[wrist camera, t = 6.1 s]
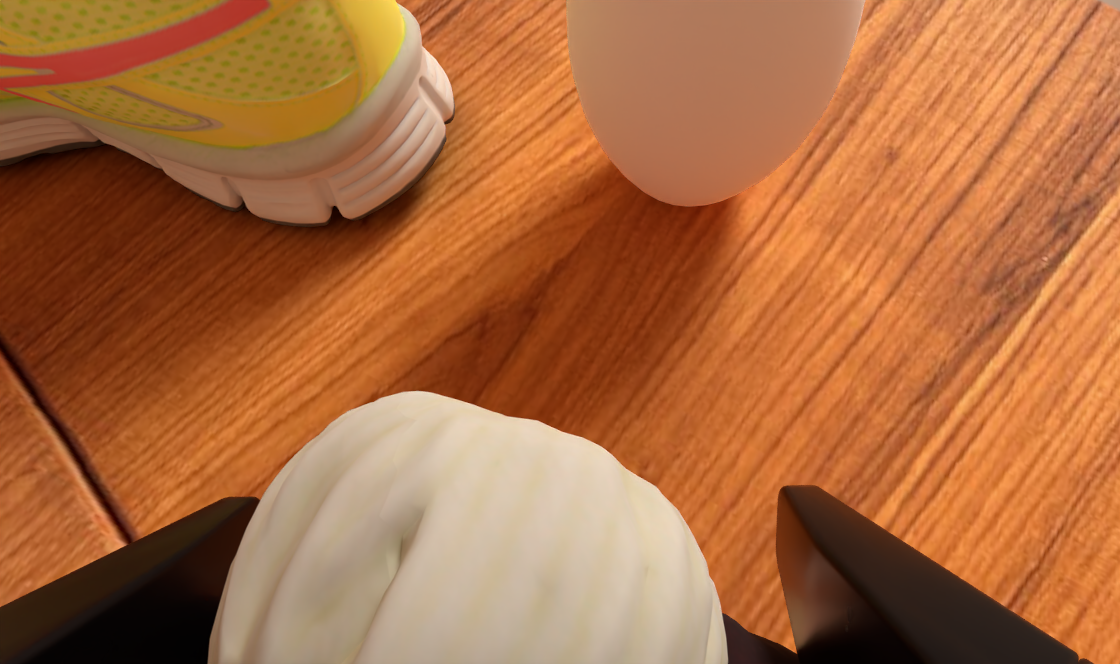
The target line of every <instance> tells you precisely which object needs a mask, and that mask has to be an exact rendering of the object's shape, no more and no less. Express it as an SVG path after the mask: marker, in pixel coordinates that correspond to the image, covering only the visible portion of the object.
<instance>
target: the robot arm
mask: <svg viewBox="0 0 1120 664" xmlns="http://www.w3.org/2000/svg"><path fill="white" fill-rule="evenodd" d="M259 502H260V500H259V499H258V498H256V497H227V498H223V499H221V500H219V501H217V502H215V503H213V504H211V505H208V506H206V507H204V508H202V509H200V510H198V511H196V512H194V513H192V514H190V515H188V516H186V517H184V518H182V519H180V520H178V521H176V522H174V523H172V524H170V525H168V526H165V527H163V528H161V529H159V530H157V531H155V532H153V533H151V534H149V535H147V536H145V537H143V538H141V539H139V540H137V541H135V542H133V543H131V544H129V545H127V546H125V547H122V548H120V549H118V550H116V551H114V552H112V553H110V554H108V555H106V556H104V557H102V558H100V559H98V560H96V561H94V562H92V563H90V564H88V565H86V566H84V567H82V568H79V569H77V570H75V571H73V572H71V573H69V574H67V575H65V576H63V577H61V578H59V579H57V580H55V581H53V582H51V583H49V584H47V585H45V586H43V587H41V588H39V589H37V590H34V591H32V592H30V593H28V594H26V595H24V596H22V597H20V598H18V599H16V600H14V601H12V602H10V603H8V604H6V605H4V606H2V607H0V664H208V655H209V643H210V636H211V633H212V629H213V626H214V622H215V618H216V615H217V611H218V608H219V604H220V601H221V597H222V594H223V590H224V587H225V583H226V580H227V576H228V573H229V569H230V566H231V564H232V562H233V560H234V558H235V556H236V554H237V551H238V548H239V546H240V543H241V541H242V538H243V536H244V533H245V531H246V528H247V526H248V524H249V522H250V520H251V518H252V516H253V514H254V512H255V510H256V508H257V506H258V504H259ZM776 556H777V564H778V569H779V573H780V578H781V582H782V587H783V591H784V596H785V600H786V605H787V609H788V614H789V618H790V623H791V627H792V632H793V636H794V641H795V645H796V650H797V654H798V659H799V662H800V664H1094V663H1092V662H1090V661H1089V660H1087V659H1084V658H1083V659H1080V660H1079V657H1078V655H1077V653H1076V652H1074V651H1073V650H1071V649H1070V648H1068V647H1067V646H1065V645H1064V644H1062V643H1060V642H1059V641H1057V640H1056V639H1054V638H1053V637H1051V636H1050V635H1048V634H1046V633H1045V632H1043V631H1042V630H1040V629H1039V628H1037V627H1036V626H1034V625H1032V624H1031V623H1029V622H1028V621H1026V620H1025V619H1023V618H1022V617H1020V616H1018V615H1017V614H1015V613H1014V612H1012V611H1011V610H1009V609H1008V608H1006V607H1004V606H1003V605H1001V604H1000V603H998V602H997V601H995V600H994V599H992V598H990V597H989V596H987V595H986V594H984V593H983V592H981V591H980V590H978V589H976V588H975V587H973V586H972V585H970V584H969V583H967V582H966V581H964V580H962V579H961V578H959V577H958V576H956V575H955V574H953V573H952V572H950V571H948V570H947V569H945V568H944V567H942V566H941V565H939V564H938V563H936V562H934V561H933V560H931V559H930V558H928V557H927V556H925V555H924V554H922V553H920V552H919V551H917V550H916V549H914V548H913V547H911V546H910V545H908V544H906V543H905V542H903V541H902V540H900V539H899V538H897V537H896V536H894V535H892V534H891V533H889V532H888V531H886V530H885V529H883V528H882V527H880V526H878V525H877V524H875V523H874V522H872V521H871V520H869V519H868V518H866V517H864V516H863V515H861V514H860V513H858V512H857V511H855V510H854V509H852V508H850V507H849V506H847V505H846V504H844V503H843V502H841V501H840V500H838V499H836V498H835V497H833V496H832V495H830V494H829V493H827V492H826V491H824V490H822V489H821V488H819V487H817V486H814V485H791V486H783V487H782V488H781V489H780V491H779V495H778V508H777V530H776ZM1078 661H1079V662H1078Z"/></svg>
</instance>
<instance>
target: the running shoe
mask: <svg viewBox="0 0 1120 664" xmlns="http://www.w3.org/2000/svg"><path fill="white" fill-rule="evenodd" d="M454 113H455V104H454V98H453V93H452V88H451V84H450V82H449V79H448V77H447V75H446V74H445V72H444V70H443V69H442V68H441V66H440V65H439V64H438V62H437V61H436V59H435V58H434V57H433V56H432V55H431V54H430V53H429V52H427V50H426V49H425V48H424V47H423V46H422V39H421V32H420V27H419V24H418V22H417V20H416V19H415V18H414V16H413V15H412V14H411V13H410V12H409V11H408V10H407V9H405V8H404V7H402V6H401V5H399V4H398V3H396V1H395V0H0V166H7V165H11V164H14V163H18V162H21V161H22V160H23V159H25V158H28V157H31V156H35V155H38V154H41V153H51V154H53V153H58V152H62V151H68V150H73V149H78V148H89V147H96V146H101V145H104V144H106V143H107V144H109V145H112V146H115V147H116V148H117V149H118V150H120V151H122V152H125V153H128V154H132V155H134V156H136V157H137V158H139V159H141V160H143V161H145V162H147V163H149V164H151V165H152V166H154V167H156V168H158V169H160V170H163V171H164V172H165V173H166V175H168V176H170V177H171V178H172V179H174V180H175V181H177V182H178V183H180V184H182V185H183V186H184V187H185V188H187V189H188V190H190V191H191V192H193V193H194V194H196V195H198V196H200V197H202V198H204V199H207V200H209V201H211V202H213V203H214V204H216V205H217V206H220V207H222V208H224V209H227V210H230V211H240V210H241V209H242V208H243V207H244V205H245V204H246V207H247V209H248V210H249V211H250V212H251V213H253V214H254V215H256V216H258V217H260V218H261V219H262V220H263V221H267V222H271V223H275V224H280V225H289V226H300V227H312V226H325V225H327V224H328V223H329V222H330V219H331V214H332V210H333V206H337V207H338V209H339V211H340V213H341V214H342V216H343V217H345V218H348V219H350V220H352V221H355V220H360V219H362V218H364V217H366V216H368V215H370V214H372V213H373V212H375V211H377V210H379V209H381V208H382V207H384V206H386V205H387V204H389V203H391V202H392V201H394V200H396V199H397V198H398V197H400V196H401V195H402V194H403V193H405V192H406V191H407V190H409V189H410V188H411V187H412V186H413V185H414V184H415V183H416V182H418V181H419V180H420V179H421V177H422V176H423V175H424V174H425V173H426V172H427V171H428V169H429V168H430V167H431V166H432V165H433V163H434V162H435V160H436V158H437V157H438V155H439V153H440V152H441V150H442V148H443V146H444V144H445V142H446V135H445V130H446V127H445V124H448V123H450V122H451V121H452V120H453V118H454Z"/></svg>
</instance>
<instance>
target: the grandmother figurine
mask: <svg viewBox="0 0 1120 664" xmlns="http://www.w3.org/2000/svg"><path fill="white" fill-rule="evenodd" d="M208 664H800V662H799V659H798V654H796V653H794V652H793V651H791V650H789V649H787V648H786V647H784V646H782V645H781V644H778V643H775V642H773V641H770V640H768V639H766V638H763V637H760V636H758V635H755V634H752V633H750V632H748V631H747V630H746V629H744V628H743V627H742V626H741V625H740V624H739V623H737V622H736V621H735V620H733V619H732V618H730V617H729V616H727V615H726V614H723V613H722V611H721V606H720V601H719V597H718V594H717V591H716V588H715V585H714V582H713V580H712V579H711V578H710V577H709V573H708V568H707V563H706V560H705V558H704V556H703V554H702V552H701V550H700V548H699V546H698V544H697V542H696V540H695V538H694V536H693V534H692V532H691V531H690V529H689V527H688V526H687V524H686V522H685V521H684V519H683V517H682V516H681V514H680V512H679V511H678V510H677V509H676V508H675V507H674V506H673V505H672V504H671V503H670V502H669V501H668V500H667V499H666V498H665V497H664V496H663V495H662V493H661V492H660V491H659V490H658V489H657V487H656V486H654V485H652V484H651V483H649V482H647V481H645V480H644V479H642V478H640V477H638V476H636V475H635V474H633V473H632V472H630V471H629V470H627V469H626V468H624V467H623V466H622V465H621V464H620V463H619V462H618V460H617V459H616V458H615V457H614V456H613V455H611V454H610V453H609V452H608V451H606V450H605V449H604V448H603V447H601V446H599V445H597V444H595V443H593V442H591V441H589V440H587V439H585V438H583V437H579V436H575V435H572V434H568V433H564V432H561V431H559V430H557V429H555V428H553V427H550V426H548V425H546V424H544V423H542V422H540V421H538V420H531V419H523V418H516V417H508V416H505V415H503V414H500V413H496V412H492V411H489V410H486V409H484V408H481V407H478V406H476V405H473V404H470V403H467V402H463V401H460V400H457V399H453V398H449V397H446V396H442V395H438V394H434V393H431V392H423V391H410V392H401V393H398V394H394V395H390V396H387V397H383V398H380V399H378V400H376V401H375V402H371V403H368V404H366V405H363V406H360V407H358V408H355V409H352V410H350V411H347V412H346V413H344V414H343V415H341V416H340V417H339V418H337V419H336V420H334V421H333V422H332V423H330V424H329V425H328V426H327V427H326V428H325V429H324V430H323V431H322V432H321V433H320V434H319V435H318V436H317V437H315V438H314V439H312V440H311V441H310V442H308V443H307V444H306V445H305V446H304V447H303V448H302V449H301V450H300V451H299V452H298V453H297V454H296V455H295V456H294V457H293V458H292V459H291V460H290V461H289V462H288V463H287V464H286V465H285V466H284V468H283V469H282V470H281V471H280V473H279V474H278V475H277V476H276V477H275V479H274V480H273V482H272V483H271V484H270V486H269V487H268V488H267V490H266V491H265V493H264V495H263V496H262V498H261V500H260V502H259V504H258V506H257V508H256V510H255V512H254V514H253V516H252V518H251V520H250V522H249V524H248V526H247V528H246V531H245V533H244V536H243V538H242V541H241V543H240V546H239V548H238V551H237V554H236V556H235V558H234V560H233V562H232V564H231V566H230V569H229V573H228V576H227V580H226V583H225V587H224V590H223V594H222V597H221V601H220V604H219V608H218V611H217V615H216V618H215V622H214V626H213V629H212V633H211V636H210V643H209V655H208Z"/></svg>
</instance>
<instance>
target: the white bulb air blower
mask: <svg viewBox="0 0 1120 664" xmlns="http://www.w3.org/2000/svg"><path fill="white" fill-rule="evenodd" d="M864 3H865V0H566V14H567V37H568V48H569V56H570V63H571V69H572V73H573V78H574V82H575V85H576V89H577V92H578V95H579V98H580V102H581V105H582V108H583V112H584V114H585V117H586V119H587V122H588V124H589V126H590V128H591V130H592V131H593V133H594V135H595V137H596V139H597V140H598V142H599V144H600V146H601V147H602V149H603V151H604V152H605V154H606V155H607V156H608V158H609V159H610V160H611V161H612V162H613V164H614V165H615V166H616V167H617V168H618V170H619V171H620V172H621V173H622V174H623V175H624V176H625V177H626V178H627V179H628V180H629V181H631V182H632V183H633V184H634V185H635V186H637V187H638V188H639V189H640V190H642V191H643V192H644V193H646V194H648V195H650V196H651V197H653V198H655V199H657V200H659V201H662V202H665V203H668V204H671V205H678V206H687V207H690V206H704V205H708V204H713V203H717V202H721V201H723V200H726V199H728V198H731V197H733V196H736V195H738V194H740V193H742V192H744V191H745V190H747V189H749V188H750V187H752V186H754V185H755V184H757V183H759V182H760V181H762V180H763V179H765V178H766V177H768V176H769V175H770V174H771V173H772V172H773V171H775V170H776V169H777V168H778V167H779V166H780V165H782V164H783V163H784V162H785V161H786V160H787V159H788V158H789V157H790V156H791V155H792V154H793V153H794V152H795V151H796V150H797V149H798V148H799V147H800V145H801V144H802V143H803V142H804V140H805V139H806V138H807V136H808V135H809V134H810V132H811V131H812V130H813V128H814V127H815V125H816V124H817V123H818V121H819V120H820V118H821V117H822V115H823V114H824V112H825V110H826V109H827V107H828V105H829V103H830V101H831V99H832V97H833V95H834V93H835V91H836V88H837V86H838V84H839V82H840V79H841V77H842V74H843V72H844V69H845V66H846V64H847V61H848V59H849V56H850V53H851V50H852V48H853V45H854V42H855V39H856V35H857V32H858V28H859V25H860V21H861V17H862V12H863V8H864Z"/></svg>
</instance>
